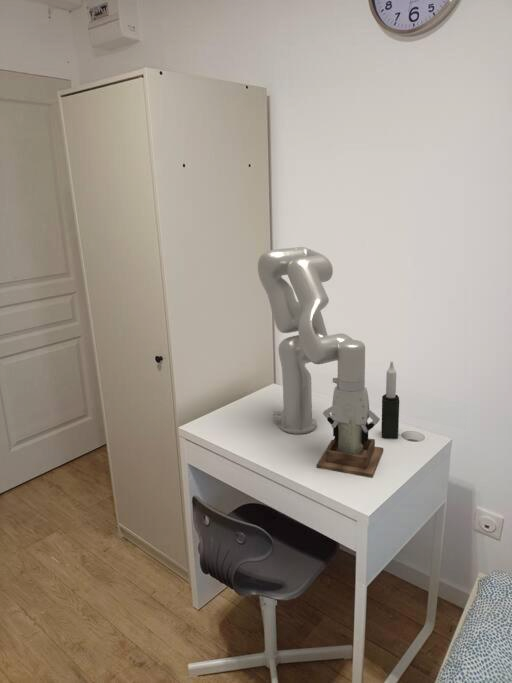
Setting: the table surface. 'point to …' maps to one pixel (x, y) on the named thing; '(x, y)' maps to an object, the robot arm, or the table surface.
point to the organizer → (351, 459)
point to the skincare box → (350, 437)
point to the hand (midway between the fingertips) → (350, 440)
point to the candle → (390, 406)
